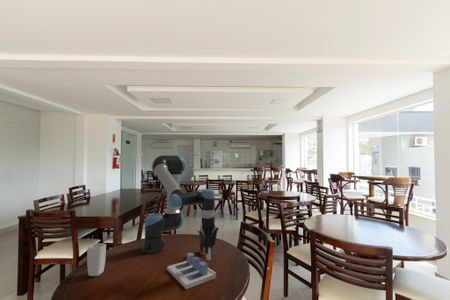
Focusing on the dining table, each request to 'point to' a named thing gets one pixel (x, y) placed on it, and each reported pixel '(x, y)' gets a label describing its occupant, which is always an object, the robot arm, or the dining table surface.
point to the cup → (96, 259)
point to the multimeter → (202, 248)
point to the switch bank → (189, 274)
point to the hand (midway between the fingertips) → (208, 258)
